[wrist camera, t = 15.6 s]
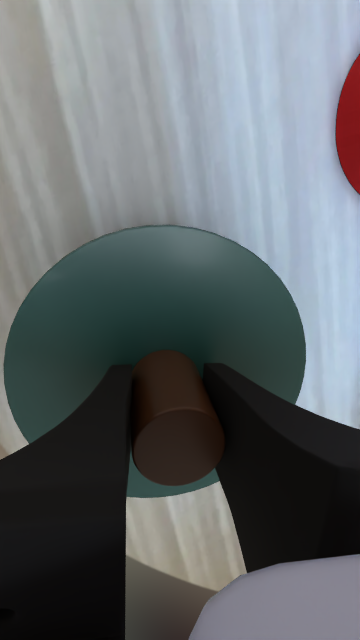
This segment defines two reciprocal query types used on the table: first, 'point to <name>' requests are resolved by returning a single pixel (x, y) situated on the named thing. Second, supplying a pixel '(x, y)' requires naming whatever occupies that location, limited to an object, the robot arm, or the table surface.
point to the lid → (153, 343)
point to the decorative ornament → (350, 126)
